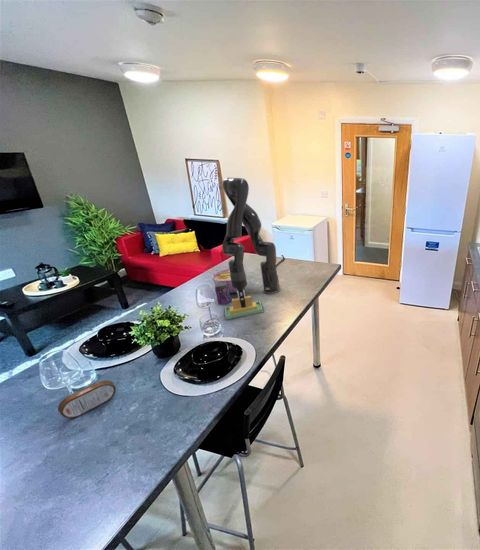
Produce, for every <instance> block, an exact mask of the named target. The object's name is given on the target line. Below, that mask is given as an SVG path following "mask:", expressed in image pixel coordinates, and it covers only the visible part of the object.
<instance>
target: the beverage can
mask: <svg viewBox="0 0 480 550" xmlns="http://www.w3.org/2000/svg"><path fill="white" fill-rule="evenodd" d="M214 292H215V296H216V301H217V304H220V305H225V304H228V303H229V302H231V301H232V298H231V295H230V294H231V293H229V289H228V285H227V283H226V282H219V283H216V284H215V283H214Z"/></svg>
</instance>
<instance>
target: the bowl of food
mask: <svg viewBox="0 0 480 550" xmlns="http://www.w3.org/2000/svg"><path fill="white" fill-rule="evenodd" d="M244 271H245V275H246V276H247V271H246V270H245V269H244ZM211 279H212V282H213V283H214V285H215V284H216V283H219V282H226V283H227V285H228V289H229V294H234V293H237V290H236V288H233V287H232V283H231V278H230V270H229V268H224V269H221V270H218V271H216V272H214V273H213V274H212V275H211Z"/></svg>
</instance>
